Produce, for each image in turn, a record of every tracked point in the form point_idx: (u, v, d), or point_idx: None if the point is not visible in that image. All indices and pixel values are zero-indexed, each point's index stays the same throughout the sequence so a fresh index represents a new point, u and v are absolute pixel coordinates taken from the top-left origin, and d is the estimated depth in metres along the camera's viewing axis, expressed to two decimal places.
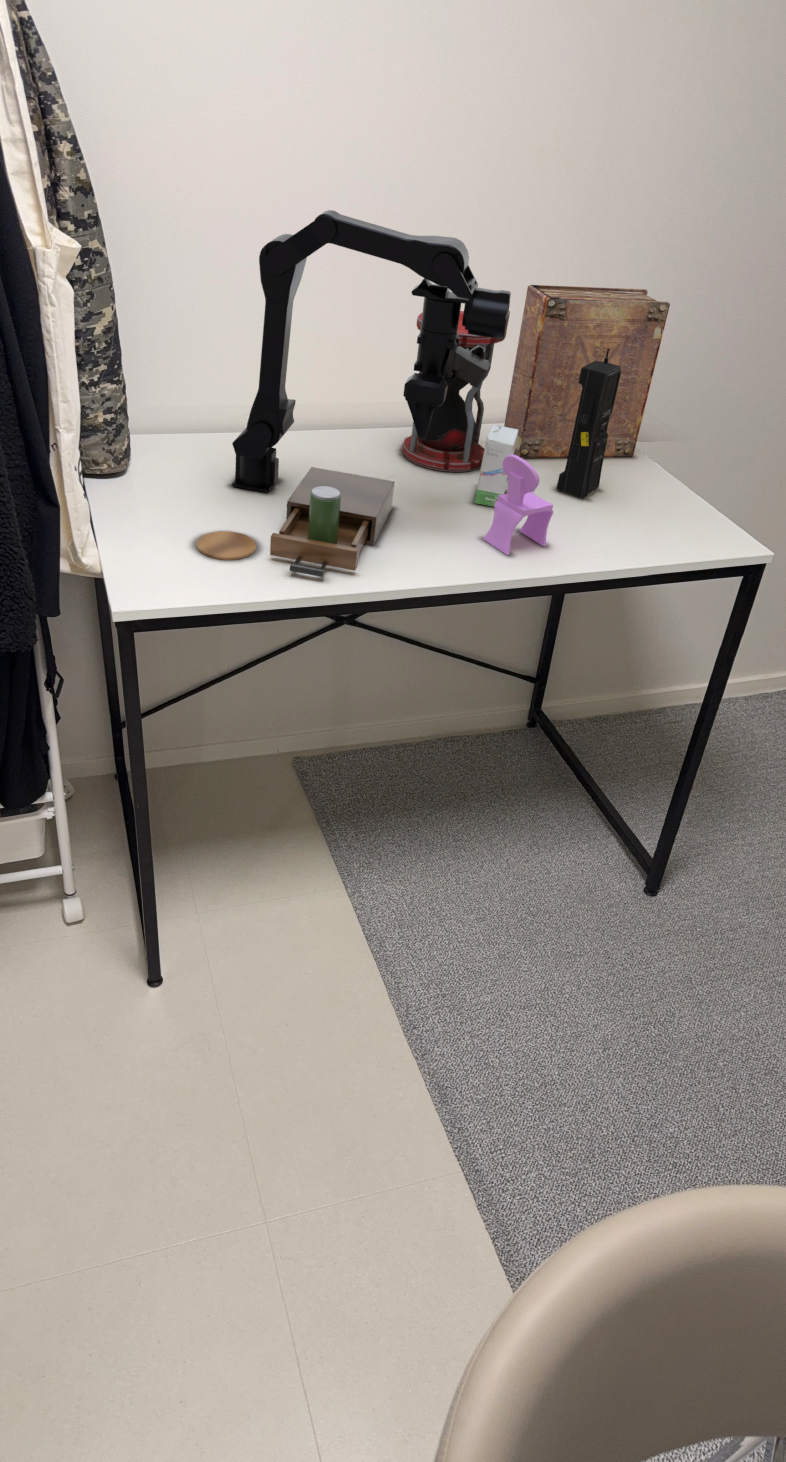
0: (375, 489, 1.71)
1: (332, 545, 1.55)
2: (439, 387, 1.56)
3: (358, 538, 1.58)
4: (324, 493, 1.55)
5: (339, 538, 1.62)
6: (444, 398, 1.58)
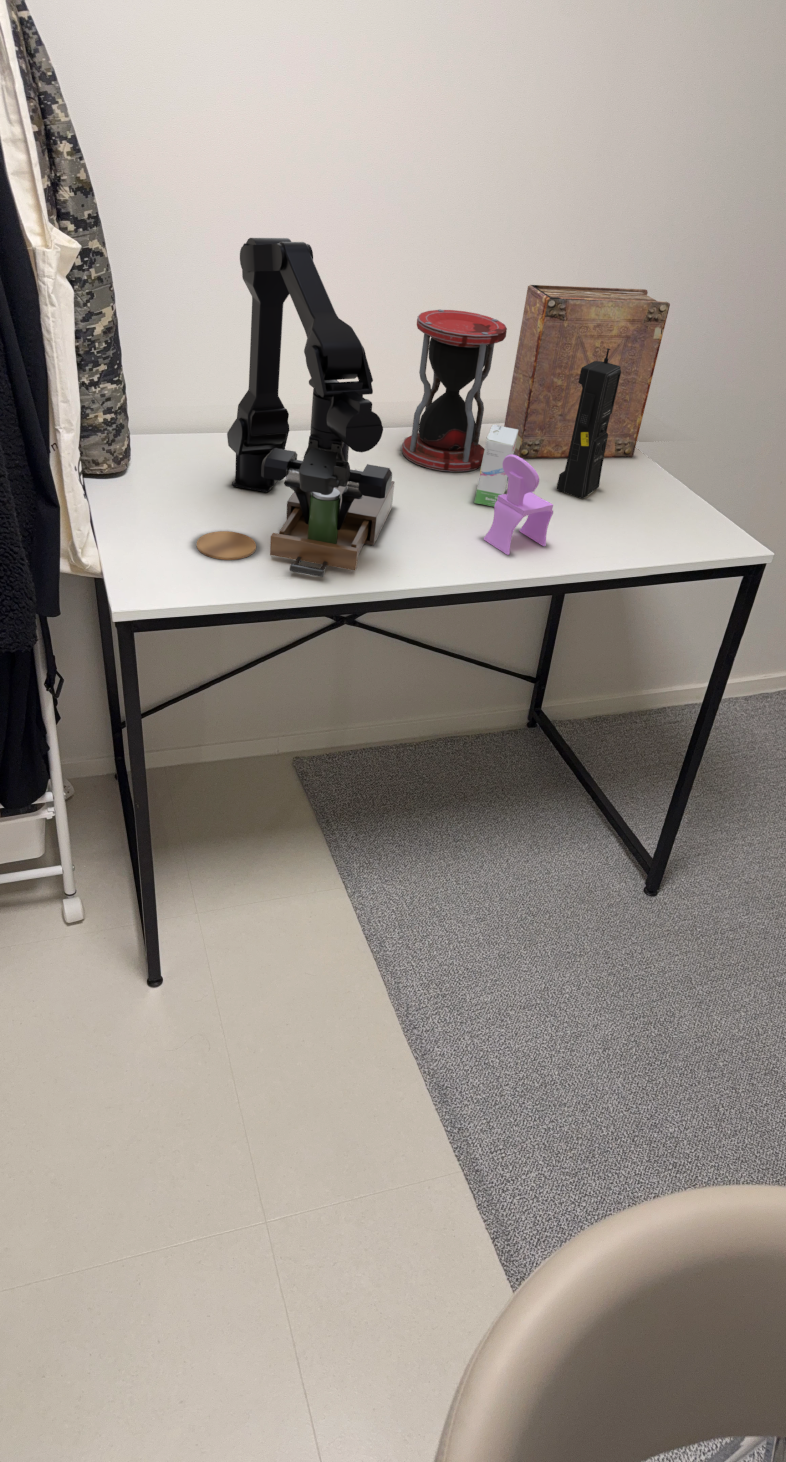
0: None
1: (332, 545, 1.55)
2: (264, 460, 1.53)
3: (358, 538, 1.58)
4: None
5: (339, 538, 1.62)
6: (270, 476, 1.53)
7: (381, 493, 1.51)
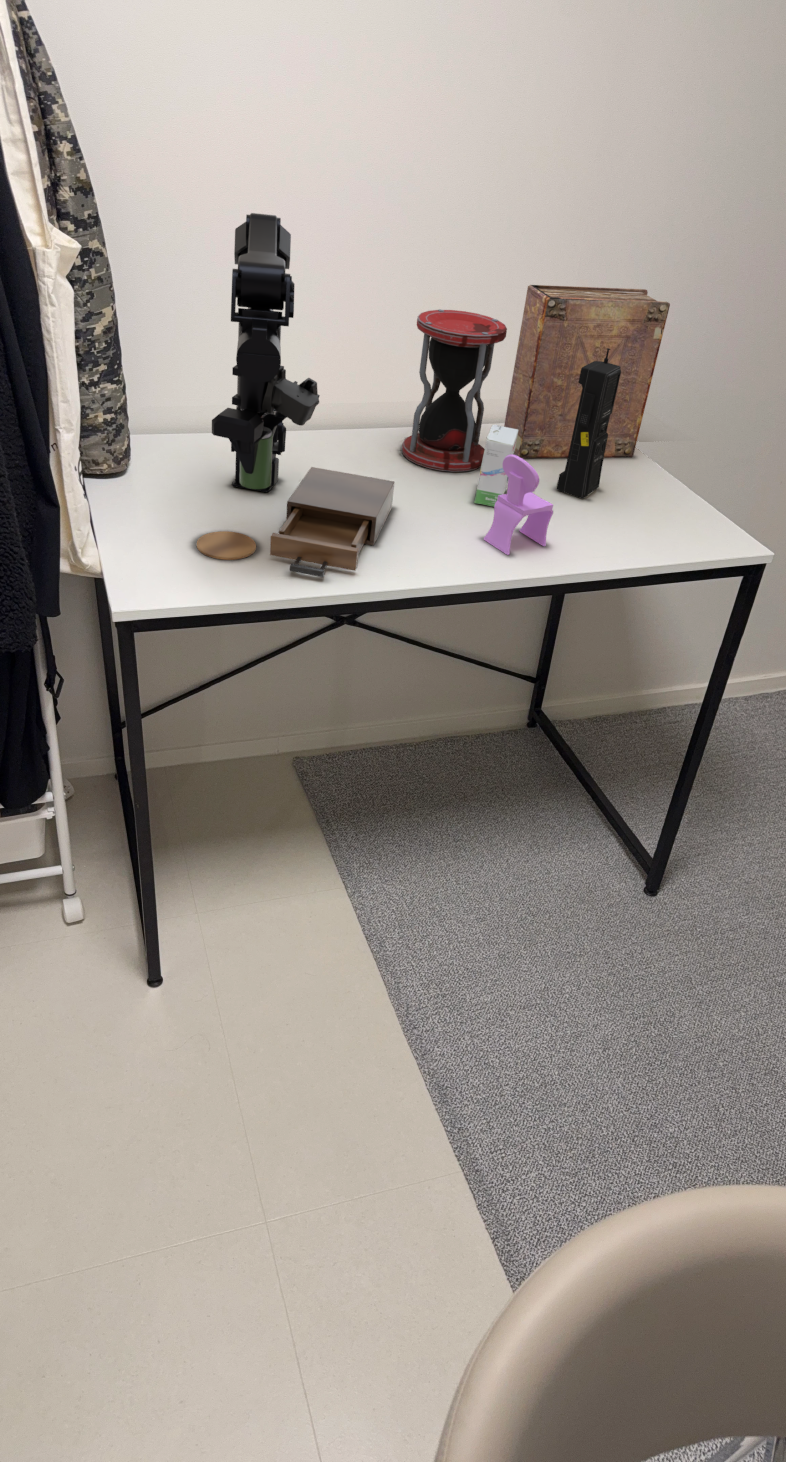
0: (375, 489, 1.71)
1: (332, 545, 1.55)
2: (247, 425, 1.40)
3: (358, 538, 1.58)
4: None
5: (339, 538, 1.62)
6: (256, 437, 1.42)
7: None
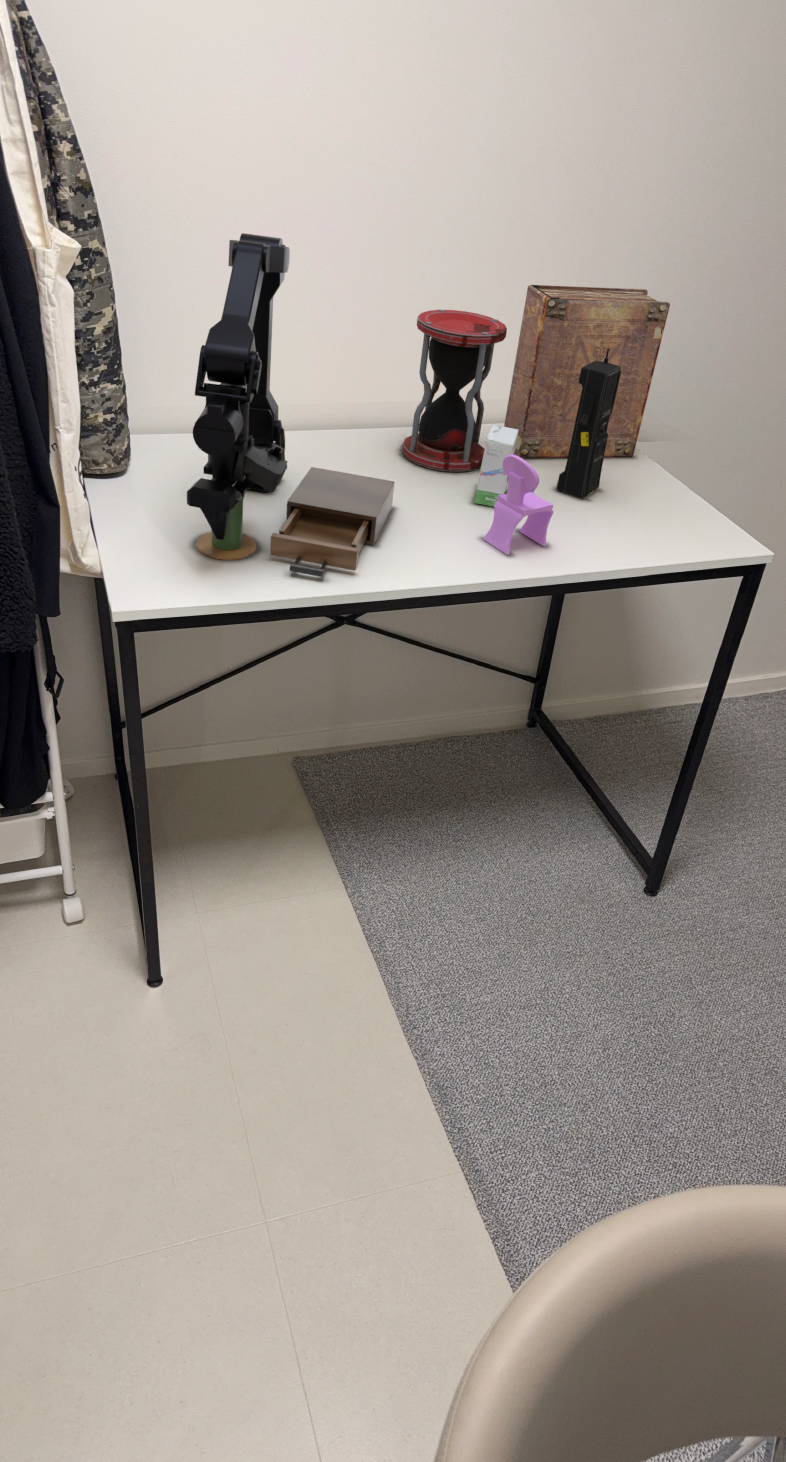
0: (375, 489, 1.71)
1: (332, 545, 1.55)
2: (222, 496, 1.45)
3: (358, 538, 1.58)
4: None
5: (339, 538, 1.62)
6: (231, 506, 1.47)
7: None
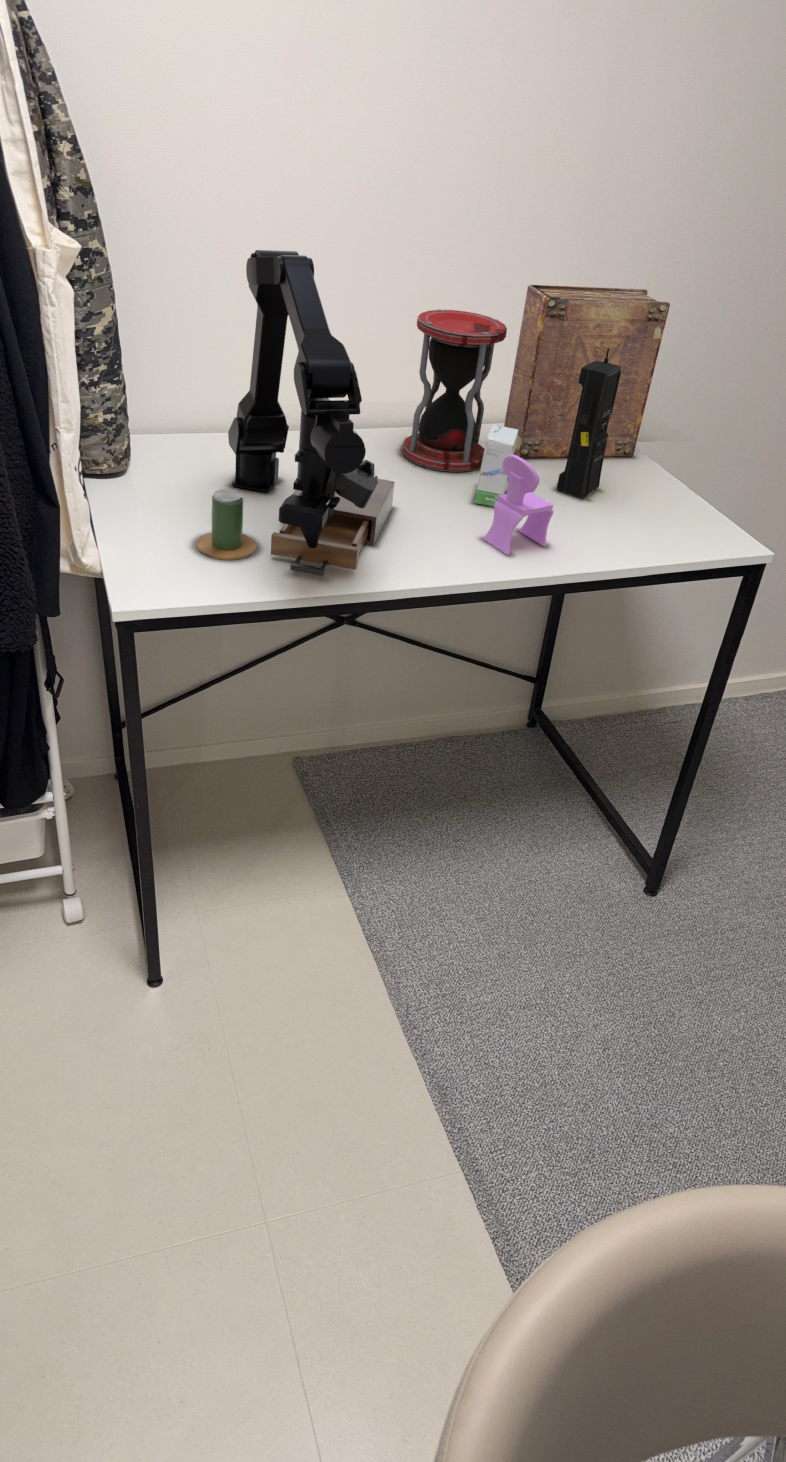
0: (375, 489, 1.71)
1: (332, 544, 1.55)
2: (316, 513, 1.42)
3: (358, 537, 1.58)
4: (232, 495, 1.55)
5: (339, 537, 1.62)
6: (323, 523, 1.44)
7: None
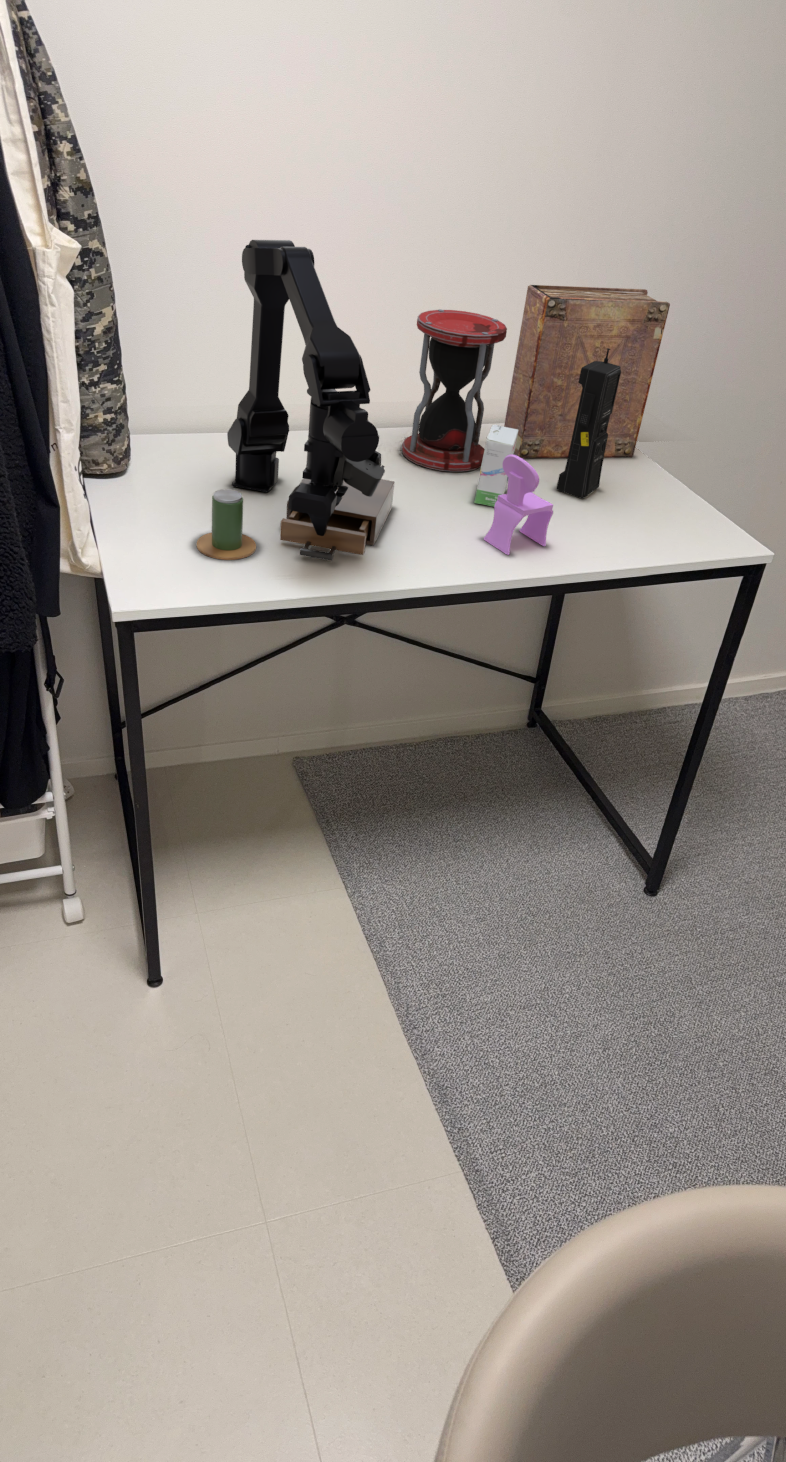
0: None
1: (340, 530, 1.59)
2: (325, 500, 1.46)
3: (366, 523, 1.63)
4: (232, 495, 1.55)
5: (347, 524, 1.66)
6: (332, 511, 1.48)
7: None
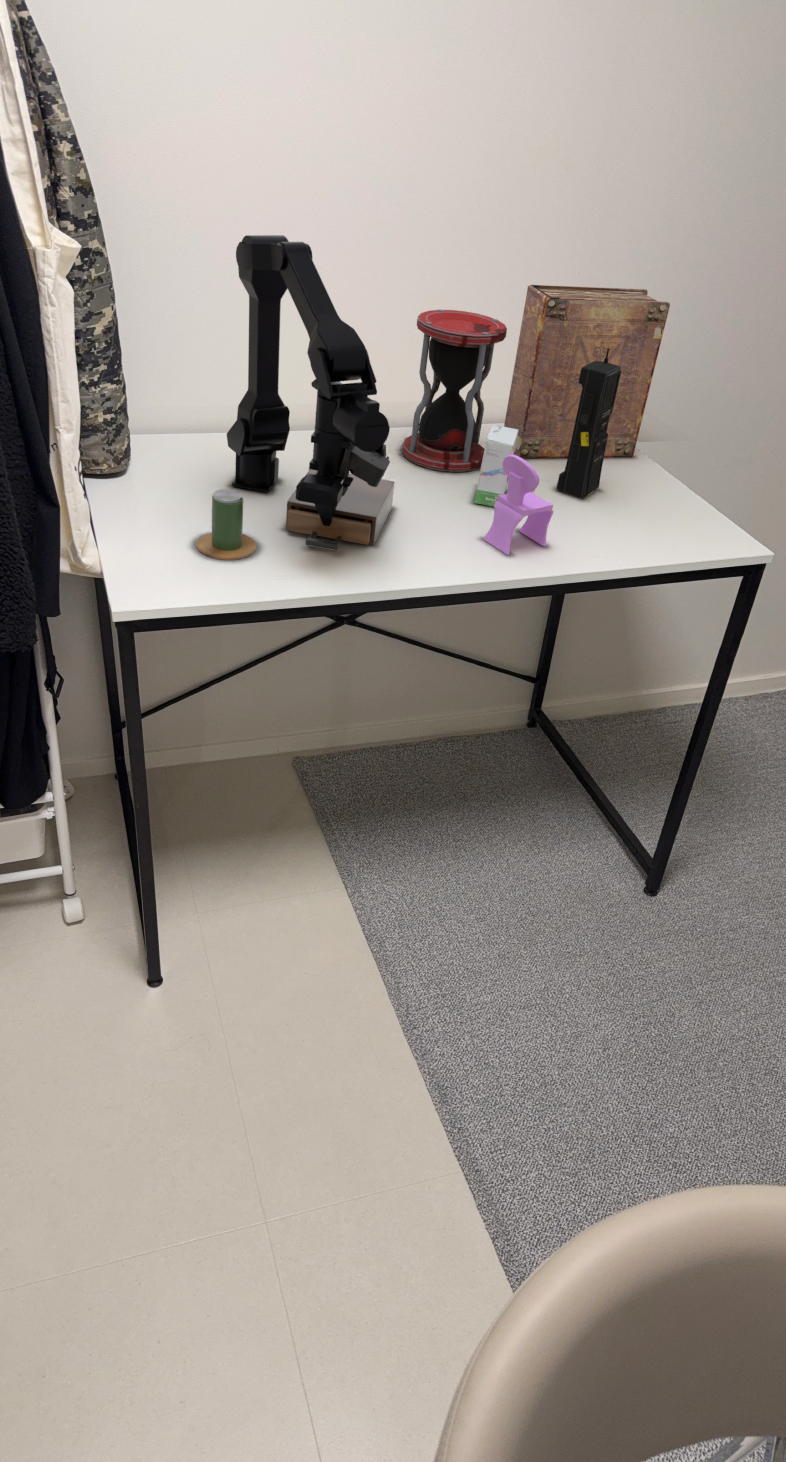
0: (375, 489, 1.71)
1: (346, 520, 1.62)
2: (332, 490, 1.49)
3: None
4: (232, 495, 1.55)
5: None
6: (338, 501, 1.51)
7: None
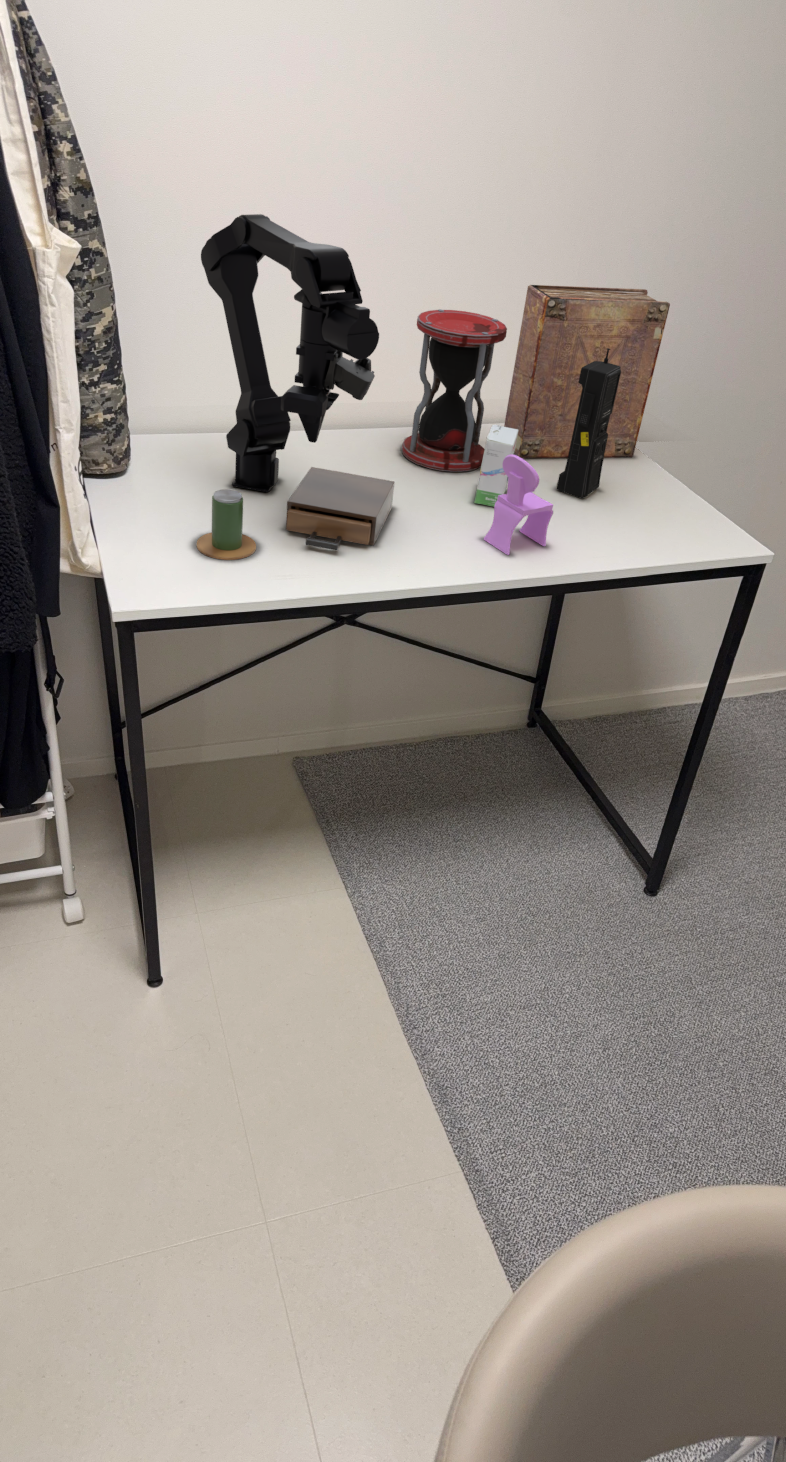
0: (375, 489, 1.71)
1: (346, 520, 1.62)
2: (316, 400, 1.51)
3: None
4: (232, 495, 1.55)
5: None
6: (323, 411, 1.53)
7: None
